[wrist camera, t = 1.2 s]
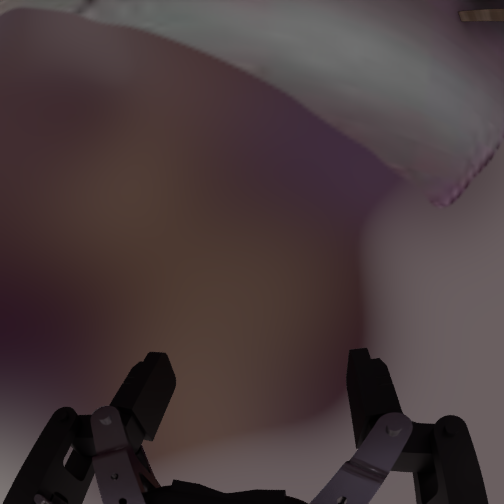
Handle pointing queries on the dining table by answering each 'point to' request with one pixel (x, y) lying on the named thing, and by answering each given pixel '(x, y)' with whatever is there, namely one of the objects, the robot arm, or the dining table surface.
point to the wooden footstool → (482, 15)
